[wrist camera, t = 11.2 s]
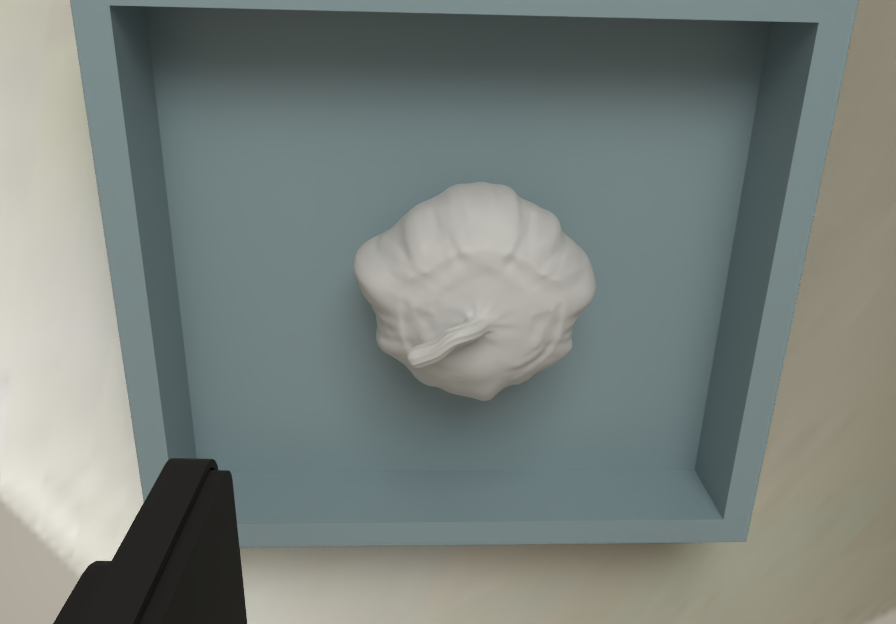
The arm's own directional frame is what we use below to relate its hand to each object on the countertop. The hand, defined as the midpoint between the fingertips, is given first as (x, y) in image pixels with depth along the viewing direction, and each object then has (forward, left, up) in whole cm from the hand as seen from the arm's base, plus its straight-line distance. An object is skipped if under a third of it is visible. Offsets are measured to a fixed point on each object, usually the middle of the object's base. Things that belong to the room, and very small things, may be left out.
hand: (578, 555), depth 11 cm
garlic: (+1, 0, -13) cm, 13 cm away
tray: (+1, 0, -14) cm, 14 cm away
